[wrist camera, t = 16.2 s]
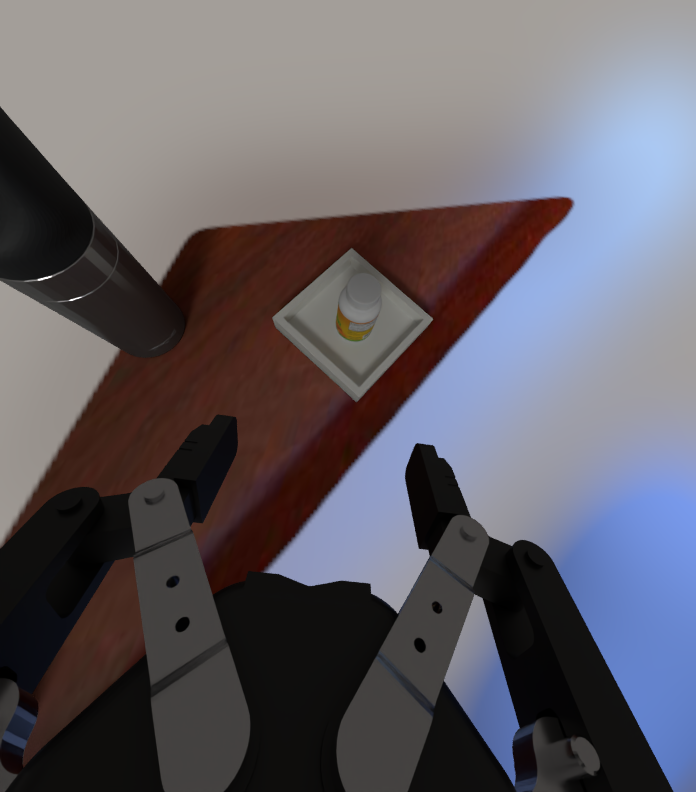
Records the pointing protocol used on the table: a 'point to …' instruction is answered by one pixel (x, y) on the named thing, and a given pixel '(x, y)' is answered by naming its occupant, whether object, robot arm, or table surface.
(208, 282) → the table surface
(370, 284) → the supplement bottle
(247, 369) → the table surface
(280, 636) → the robot arm
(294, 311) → the tray
